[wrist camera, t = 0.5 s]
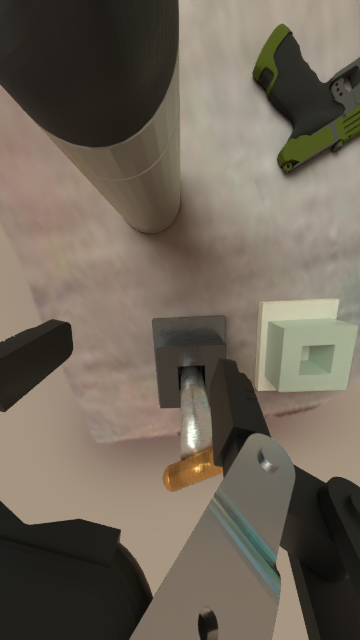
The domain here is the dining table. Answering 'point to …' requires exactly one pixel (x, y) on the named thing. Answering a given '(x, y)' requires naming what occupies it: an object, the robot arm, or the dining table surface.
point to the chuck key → (193, 435)
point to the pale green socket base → (303, 346)
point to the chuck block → (186, 352)
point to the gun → (308, 100)
